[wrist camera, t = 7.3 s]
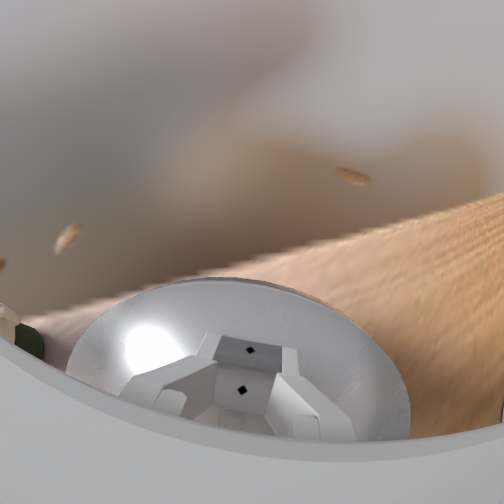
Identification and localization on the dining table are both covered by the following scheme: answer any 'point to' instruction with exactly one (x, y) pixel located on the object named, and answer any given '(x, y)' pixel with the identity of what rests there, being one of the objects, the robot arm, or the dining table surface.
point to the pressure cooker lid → (253, 329)
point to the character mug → (20, 333)
